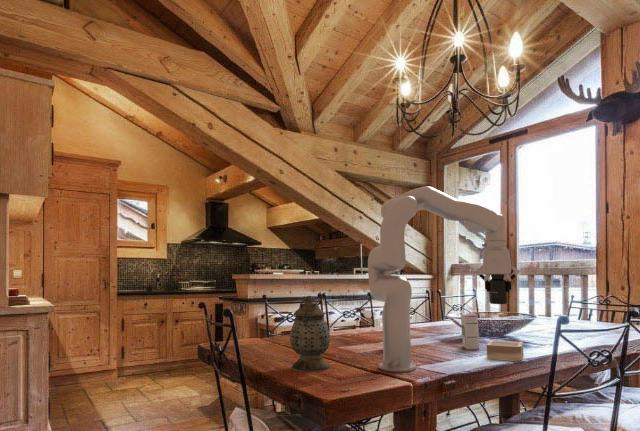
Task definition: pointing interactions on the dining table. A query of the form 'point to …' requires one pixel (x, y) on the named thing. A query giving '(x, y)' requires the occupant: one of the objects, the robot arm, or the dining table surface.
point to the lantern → (309, 337)
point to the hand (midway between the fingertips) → (498, 291)
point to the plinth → (505, 350)
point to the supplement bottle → (498, 290)
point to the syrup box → (470, 330)
